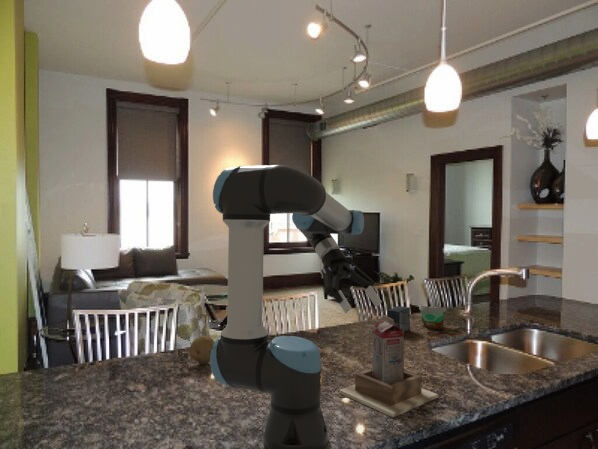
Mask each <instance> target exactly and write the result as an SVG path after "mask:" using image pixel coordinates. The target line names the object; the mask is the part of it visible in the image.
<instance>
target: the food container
mask: <svg viewBox="0 0 598 449" xmlns="http://www.w3.org/2000/svg"><path fill="white" fill-rule="evenodd" d="M418 309H419V310H420V318H421V326H422V327H423V328H424V329H428V330H429V329H430V330H440V329H441V330H442V329H443V328H444V321H445V315H446V314H445V313H446V312H447V307H446V306H443V307H438V306H434V305H433V306H431V305H430V306H424V305H422V304H419V307H418Z"/></svg>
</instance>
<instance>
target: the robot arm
mask: <svg viewBox="0 0 598 449" xmlns="http://www.w3.org/2000/svg"><path fill="white" fill-rule="evenodd" d="M212 201H213V204H214V206H215V207H214V208H215V209H216V211H218V213H220V214H221V215H222V222H223V223H224V224H225V225H226V226H227V228H228V250H227V251H228V253H227V256H228V257H227V260H228V261H227V319H226V320H227V322H226V323H227V324H226V326H225V328H223V329H222V330H221V331H220V336H219V337H218V338H217V339H215V340H214V344H213V349H212V350H211V355H210V361H209V364H210V369H211V373H212V375H213V377H214V379H215V380H216V381H217V382H218V383H219V384H222V385H225V386H228V387H231V388H234V389H244V390H249V391H253V392H259V393H260V392H261V393H264V394H265V393H266V394H270V408H269V412H268V416H267V419H266V423H265V426H264V428H263V430H262V431H263V432H262V436H263V437H262V438H263V439H262V441H263V445H264V447H265V449H325V448H326V447H327V444H328V441H329V439H328V436H329V432H328V428H327V424H326V420H325V418H324V415H323V413H322V409H321V387H322V386H321V385H322V384H321V383H322V382H321V380H322V379H321V377H322V376H321V374H322V372H321V371H322V362H321V352H320V348H319V347H318V346H317V345H316V344H315V342H314V341H313V342H312V341H311V340H309V339H307V338H305V337H300V336H294V335H290V336H287V335H280V336H276V337H274V338H273V339H272V340H271V341H269V331H268V329H267V328H266V327H265V326H264V325H263V308H264V306H263V304H264V302H263V300H264V295H263V294H264V250H265V248H264V242H265V241H264V238H265V237H264V236H265V234H264V232H265V228H266V227H267V225H268V224H269V223H271V215H276V214H278V215H279V214H292V215H291V218H292V219H291V220H292V223H293V224H294V225H295V228H296V229H297V230H299V232H300V233H302V234H303V236H304V237H305V238H306V239H307V240H308V242H309V244H310V245H311V247H312V248H313V250H314V251H315V253H316V254H317V256H318V258H319V259H320V260H321V263H322V264H323V268H321V269H320V271H321V272H320V273H322V275H323V283H324V292H325V294H326V295H329V296H330V297H331V298H334V299H335V300H336V303H338V304H339V306H340V307H341V309H342V310H343V312H344V314H348V312H349V311H350V310H351V309H352V306H351V304H350V303H349V300H347V298H346V297H345V295H344V293H343V291H342V290H341V289H339V285H340V280H343V279H347V280H349V281H350V280H351V281H353V282H354V283H356V284H357V285H358V286H361V287H362V288H364V289H365V290H364V291H365V293H366V294H367V296H368V298H369V299H370V300H371V302H372V304H373V306H374V307H375V308H378V307H379V306H380V305H381V304H382V300H381V298H380V297H379V295H378V293H377V292H376V290H375V288H374V286H373V285H375V284H376V281H374V280H373V279H372V278H371V276H369V275H368V274H367V273H366V272H364V271H363V270H362V269H361V268H360V267H359V266H358V265H357V264H356V263H355V262H352V263H351V264H349V263H347V260H346V259H347V258H346V255H345V253H343V251H342V249H341V248H340V246H339V244H338V243H337V241H336V240H335V239H334V237H333V236H332V235H361V234H362V233H363V230H364V228H365V217H364V216H365V215H364V213H363V212H362V210H357V209H356V210H355V209H352V210H351V209H348V208H347V207H345V206H344V205H343V204H342V203H341V202H339V201H338V200H336V199H335V198H334V197H333V196H331V195H330V194H329V193H328V192H327V191H326V187H325V186H324V185H323V183H321V182H320V180H318V179H316V177H313V176H312V175H310V174H308V173H307V172H304V171H302V170H300V169H297V168H295V167H292V166H288V165H283V164H272V165H266V164H265V165H239V166H235V167H228V168H225V169H223V170H222V171H221V172H220V174H219V175H218V176H217V177H216V180H215V182H214V185H213V189H212ZM331 234H332V235H331Z"/></svg>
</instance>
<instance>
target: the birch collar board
mask: <svg viewBox="0 0 598 449" xmlns="http://www.w3.org/2000/svg"><path fill="white" fill-rule="evenodd" d="M354 377H355V378H354V384H352V385H349V386H346V387H343V388H341V389H339V391H338V392H339V394H340V395H342V396H345V397H347V398H349V399H351V400H354V401H355V402H358V403H360V404H363V405H364V406H367V407H369V408H372V409H373V410H375V411H378V412H380V413H382V414H384V415H387V416H389V417H391V418H395V417H398V416H400V415H402V414H404V413H406V412H409V411H411V410H413V409H415V408H418V407H420V406H422V405H424V404H426V403H429V402H431V401H432V400H435V399H437V398H438V397H439V396H438V395H439V394H438V393H435V392H433V391H430V390H428V389H425V388H422V375H419V374H416V373H413V372H410V371H407V370H405V369H404V380H402V381H400V382H397V383H394V384H392V385H390V384H387V383H385V382H382V381H379V380H377V379H374V378H372V367H371V368H368V369H365V370H362V371H359V372H355V374H354Z"/></svg>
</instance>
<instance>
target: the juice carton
mask: <svg viewBox="0 0 598 449" xmlns="http://www.w3.org/2000/svg"><path fill="white" fill-rule="evenodd" d="M404 352H405V333H404V330H402V329H400V328H398V327H396V326H395V325H394V320H393V319H391V318H389V317H387V315H385V314H382V318H381V320H380V321H379V322H376V324H374V325H373V326H372V360H371V361H372V366H371V368H372V378H374V379H377V380H379V381H382V382H385V383H387V384H390V385H392V384H394V383H397V382H400V381H402V380H404V370H405V369H404V367H405V366H404V365H405V364H404V363H405V356H404V355H405V353H404Z"/></svg>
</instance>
